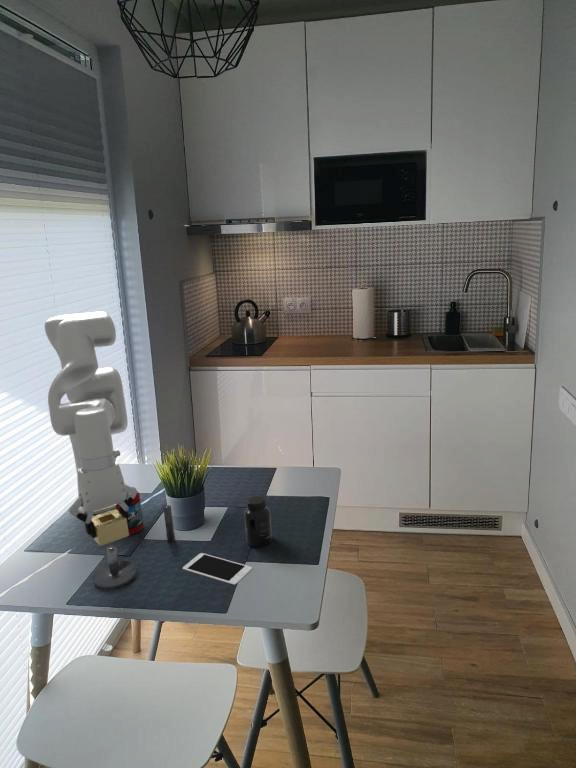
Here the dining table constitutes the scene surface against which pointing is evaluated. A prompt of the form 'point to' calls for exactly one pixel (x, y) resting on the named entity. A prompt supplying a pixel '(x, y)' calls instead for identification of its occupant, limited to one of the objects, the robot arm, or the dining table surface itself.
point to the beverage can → (134, 515)
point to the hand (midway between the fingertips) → (108, 530)
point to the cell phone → (217, 568)
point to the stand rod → (169, 523)
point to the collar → (110, 527)
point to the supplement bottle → (257, 522)
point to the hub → (114, 572)
